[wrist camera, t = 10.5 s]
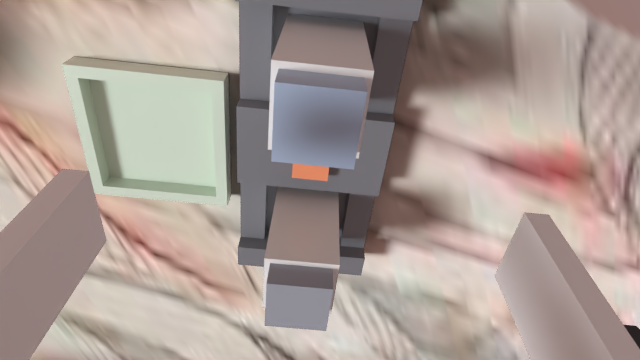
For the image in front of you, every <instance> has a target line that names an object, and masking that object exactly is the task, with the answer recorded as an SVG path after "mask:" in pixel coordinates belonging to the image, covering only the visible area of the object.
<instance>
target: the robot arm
mask: <svg viewBox="0 0 640 360" xmlns="http://www.w3.org/2000/svg"><path fill="white" fill-rule="evenodd" d="M105 242H106V237H105V233H104V229H103V225H102V221H101V217H100V213H99V209H98V205H97V201H96V197H95V193H94V189H93V185H92V181H91V177H90V173H89V171H81V170H70V169H62V170H61V171H60V172H59V173H58V174H57V175H56V176H55V177H54V178H53V179H52V180H51V181H50V182H49V183H48V184H47V185H46V186H45V187H44V188H43V189H42V190H41V191H40V192H39V193H38V194H37V195H36V197H35V198H34V199H33V200H32V201H31V202H30V203H29V204H28V205H27V206H26V207H25V208H24V209H23V210H22V211H21V212H20V213H19V214H18V215H17V216H16V217H15V218H14V219H13V220H12V221H11V222H10V223H9V224H8V225H7V226H6V227H5V228H4V229H3V230H2V231H1V232H0V360H29V359H30V358H31V356H32V354H33V353H34V351H35V350H36V348H37V347H38V345H39V344H40V342H41V341H42V339H43V338H44V336H45V334H46V333H47V331H48V330H49V328H50V327H51V325H52V324H53V322H54V321H55V319H56V318H57V316H58V314H59V313H60V311H61V310H62V308H63V307H64V305H65V304H66V302H67V301H68V299H69V298H70V296H71V294H72V293H73V291H74V290H75V288H76V287H77V285H78V284H79V282H80V281H81V279H82V277H83V276H84V274H85V273H86V271H87V270H88V268H89V267H90V265H91V264H92V262H93V261H94V259H95V257H96V256H97V254H98V253H99V251H100V250H101V248H102V247H103V245H104V244H105ZM495 277H496V280H497V282H498V284H499V287H500V289H501V291H502V294H503V296H504V298H505V301H506V303H507V306H508V308H509V310H510V313H511V315H512V317H513V320H514V322H515V324H516V327H517V329H518V331H519V334H520V336H521V338H522V341H523V343H524V345H525V348H526V350H527V352H528V355H529V357H530V359H531V360H640V329H639V328H638V327H636V326H630V325H623V324H622V322H621V321H620V319H619V318H618V316H617V315H616V313H615V312H614V310H613V309H612V307H611V306H610V304H609V303H608V302H607V300H606V299H605V297H604V296H603V294H602V293H601V291H600V290H599V288H598V287H597V285H596V284H595V282H594V281H593V279H592V278H591V276H590V275H589V273H588V272H587V270H586V269H585V268H584V266H583V265H582V263H581V262H580V260H579V259H578V257H577V256H576V254H575V253H574V251H573V250H572V248H571V247H570V245H569V244H568V242H567V241H566V239H565V238H564V236H563V235H562V234H561V232H560V231H559V229H558V228H557V226H556V225H555V223H554V222H553V220H552V219H551V217H550V216H549V215H545V214H535V213H524V215H523V217H522V219H521V221H520V223H519V225H518V227H517V229H516V231H515V233H514V235H513V238H512V240H511V242H510V244H509V246H508V248H507V250H506V252H505V254H504V256H503V258H502V261H501V263H500V265H499V267H498V269H497V271H496V273H495Z"/></svg>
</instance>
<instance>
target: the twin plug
mask: <svg viewBox="0 0 640 360" xmlns="http://www.w3.org/2000/svg"><path fill="white" fill-rule="evenodd" d="M339 267H340V250H339V196H338V192H330V191H320V190H309V189H299V188H289V187H278V188H277V193H276V199H275V204H274V209H273V215H272V220H271V225H270V231H269V236H268V241H267V247H266V252H265V257H264V280H263V308H265V326H275V327H287V328H299V329H310V330H322V331H326V328H327V322H328V317H329V313H330V314H331V311H332V306H333V300H334V294H335V289H336V283H337V278H338V272H339Z"/></svg>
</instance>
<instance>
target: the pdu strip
mask: <svg viewBox="0 0 640 360" xmlns="http://www.w3.org/2000/svg"><path fill="white" fill-rule="evenodd" d="M235 1H239V49H240V99H239V102H238V104H237V106H236V120H237V183H240V188H241V238H240V242H239V246H238V264H240V265H251V266H262V267H264V257H265V252H266V247H267V241H268V236H269V231H270V225H271V220H272V215H273V209H274V204H275V199H276V193H277V188H278V187H289V188H299V189H309V190H320V191H330V192H338V196H339V250H340V267H339V272H338V273H340V274H351V275H361V273H362V268H363V264H364V259H365V257H364V245H365V240H366V235H367V231H368V226H369V222H370V217H371V213H372V208H373V203H374V199H375V196H379V193H380V188H381V184H382V179H383V175H384V170H385V166H386V161H387V157H388V152H389V148H390V144H391V139H392V135H393V130H394V126H395V120H394V117H393V112H394V107H395V103H396V98H397V94H398V89H399V84H400V80H401V75H402V71H403V66H404V62H405V57H406V52H407V48H408V43H409V39H410V34H411V30H412V25H413V21H418V19H419V14H420V10H421V6H422V1H423V0H235ZM288 14H297V15H306V16H315V17H324V18H333V19H342V20H350V21H359V22H363V24H364V29H365V33H366V37H367V42H368V46H369V50H370V55H371V59H372V63H373V68H374V75H373V81H372V86H371V92H370V97H369V103H368V109H367V114H366V120H365V125H364V131H363V136H362V142H361V148H360V153H359V159H357V158H356V160H355V166H354V170H353V169H343V168H333V167H323V166H313V165H303V164H293V163H283V162H272V161H271V155H272V150H268V130H269V103H270V75H271V58H272V56H273V53H274V50H275V48H276V45H277V42H278V40H279V37H280V34H281V31H282V29H283V26H284V23H285V21H286V18H287V15H288Z"/></svg>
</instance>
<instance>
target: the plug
mask: <svg viewBox="0 0 640 360" xmlns="http://www.w3.org/2000/svg"><path fill="white" fill-rule="evenodd" d="M373 75H374V68H373V63H372V59H371V55H370V50H369V46H368V42H367V37H366V33H365V29H364V24H363V22H359V21H350V20H342V19H333V18H324V17H315V16H306V15H297V14H288V15H287V18H286V21H285V23H284V26H283V29H282V31H281V34H280V37H279V40H278V42H277V45H276V48H275V50H274V53H273V56H272V58H271V75H270V103H269V130H268V150H272V155H271V161H272V162H283V163H293V164H303V165H313V166H323V167H333V168H343V169H353V170H354V166H355V160H356V158H357V159H359V153H360V148H361V142H362V136H363V131H364V125H365V120H366V114H367V109H368V103H369V97H370V92H371V86H372V81H373Z"/></svg>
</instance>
